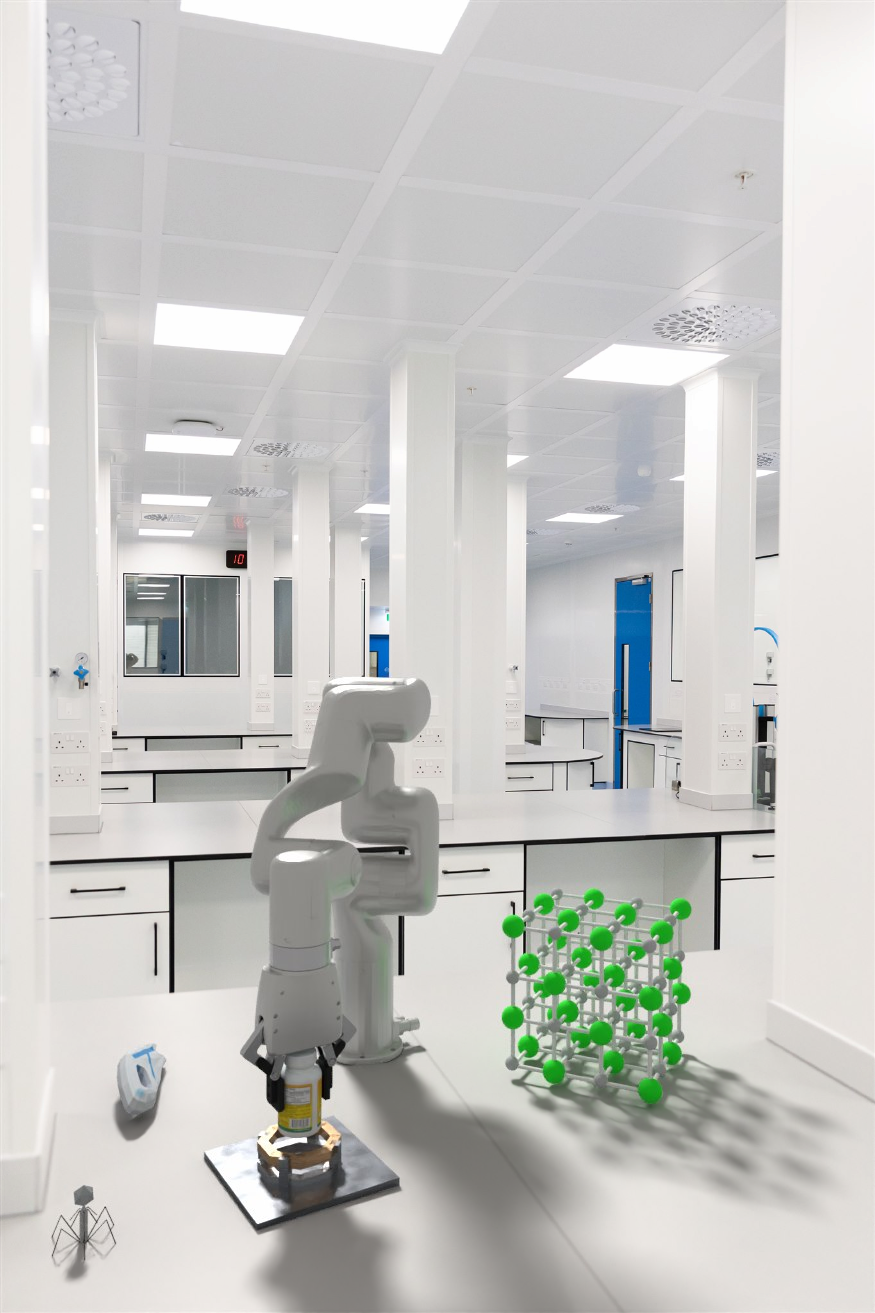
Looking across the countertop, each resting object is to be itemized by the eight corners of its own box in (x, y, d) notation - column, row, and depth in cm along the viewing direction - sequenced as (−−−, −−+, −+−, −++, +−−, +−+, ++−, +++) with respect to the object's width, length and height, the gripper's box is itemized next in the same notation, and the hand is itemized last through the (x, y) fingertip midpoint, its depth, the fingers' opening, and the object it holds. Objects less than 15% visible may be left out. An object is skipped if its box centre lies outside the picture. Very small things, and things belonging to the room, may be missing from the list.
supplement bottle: (297, 1144, 116) (297, 1064, 116) (268, 1129, 119) (268, 1051, 119) (330, 1127, 120) (331, 1049, 120) (301, 1113, 123) (301, 1038, 123)
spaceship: (118, 1080, 129) (96, 1108, 129) (158, 1109, 130) (136, 1137, 130) (137, 1024, 152) (118, 1048, 152) (171, 1049, 153) (152, 1073, 152)
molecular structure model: (692, 1044, 159) (693, 896, 159) (659, 1110, 136) (660, 937, 136) (550, 1019, 169) (551, 880, 169) (497, 1077, 147) (498, 916, 146)
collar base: (333, 1123, 132) (333, 1092, 132) (399, 1185, 117) (399, 1151, 117) (204, 1159, 123) (204, 1126, 123) (257, 1233, 107) (257, 1195, 107)
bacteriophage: (48, 1277, 100) (48, 1212, 100) (48, 1233, 108) (49, 1172, 107) (120, 1261, 103) (120, 1198, 103) (115, 1220, 110) (115, 1160, 110)
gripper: (349, 935, 127) (348, 1074, 127) (222, 957, 118) (221, 1106, 118) (376, 951, 121) (375, 1097, 121) (244, 975, 112) (244, 1132, 112)
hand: (299, 1100), depth 120 cm, fingers closed on supplement bottle, 5 cm apart
